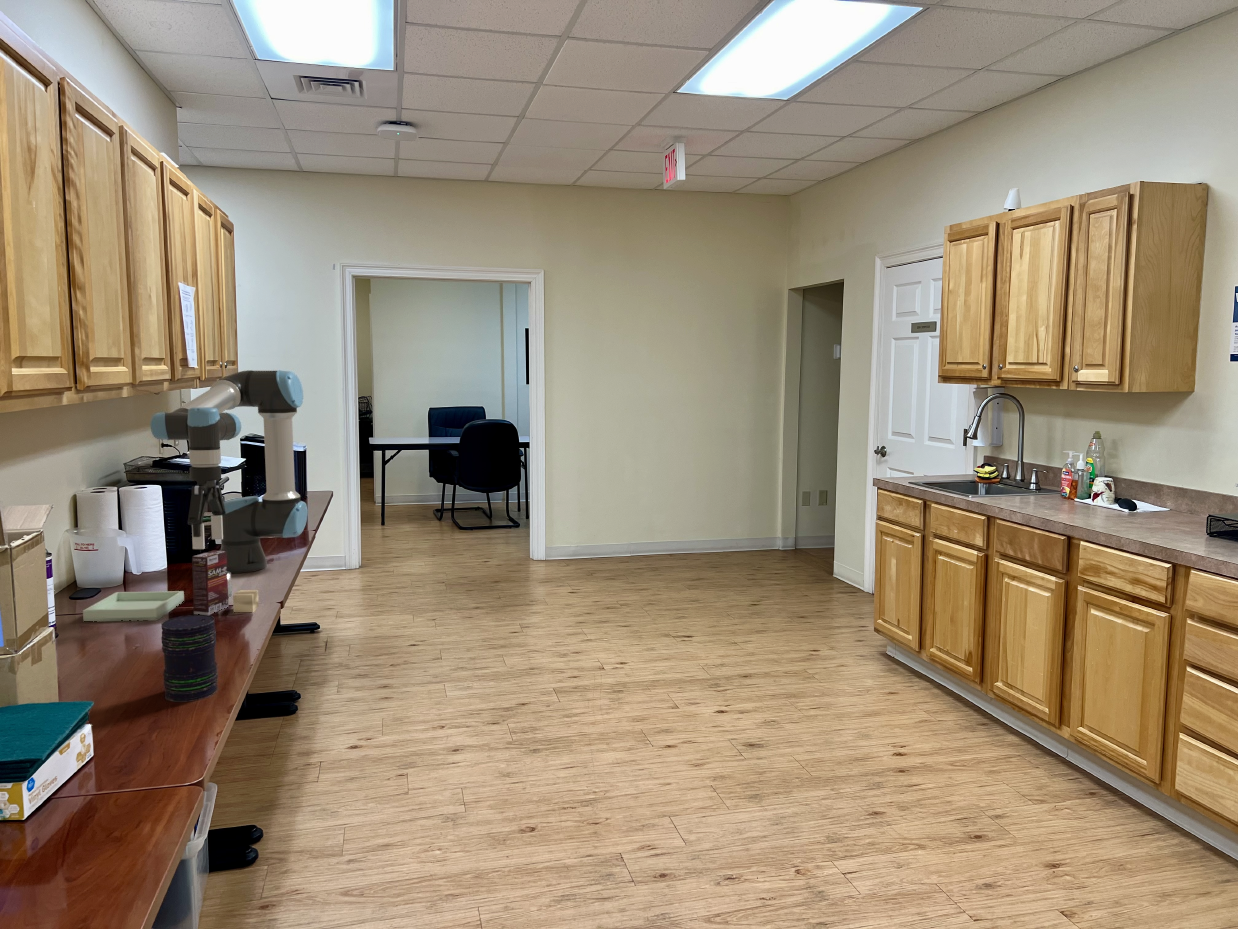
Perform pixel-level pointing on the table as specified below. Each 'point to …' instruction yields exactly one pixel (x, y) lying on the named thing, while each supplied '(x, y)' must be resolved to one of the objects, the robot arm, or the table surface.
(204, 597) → the supplement box
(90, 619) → the sage tray
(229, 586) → the metal cylinder
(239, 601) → the maple block
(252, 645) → the table surface
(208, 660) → the storage jar
